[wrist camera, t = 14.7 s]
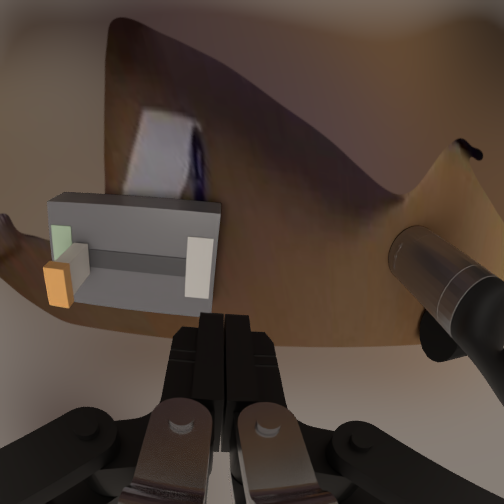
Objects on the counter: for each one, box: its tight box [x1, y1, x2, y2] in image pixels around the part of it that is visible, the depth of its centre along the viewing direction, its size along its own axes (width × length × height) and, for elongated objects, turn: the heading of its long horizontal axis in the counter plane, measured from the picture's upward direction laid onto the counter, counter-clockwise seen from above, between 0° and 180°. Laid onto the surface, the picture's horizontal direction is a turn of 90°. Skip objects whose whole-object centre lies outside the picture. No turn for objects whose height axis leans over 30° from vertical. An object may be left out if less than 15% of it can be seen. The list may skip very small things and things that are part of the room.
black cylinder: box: [420, 311, 467, 362], centre depth 49 cm, size 10×34×10 cm, turn 80°
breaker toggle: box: [43, 243, 90, 308], centre depth 32 cm, size 3×5×8 cm, turn 172°
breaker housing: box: [47, 192, 221, 317], centre depth 39 cm, size 22×14×5 cm, turn 82°
